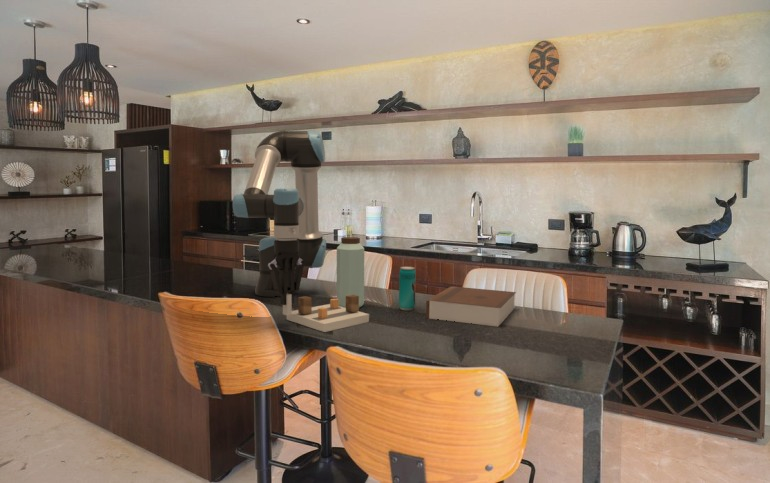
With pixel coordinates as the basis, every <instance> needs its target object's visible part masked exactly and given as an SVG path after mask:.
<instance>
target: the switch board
mask: <svg viewBox="0 0 770 483" xmlns="http://www.w3.org/2000/svg"><path fill="white" fill-rule="evenodd" d="M329 299H330V298H329ZM286 321H290V322H293V323H296V324H298V325H302V326H304V327H307V328H311V329H313V330H317V331H320V332H323V333H327V332H331V331H335V330H339V329H343V328H349V327H353V326H358V325H361V324H366V323H369V322H370V313H365V312H363V311H357V312H348V311H346V308H344V307H340V306H339V299H337V298H331V299H330V300H329V303H328V304H323V305H317V306H316V305H315V306H312V313H309V314H300V313H298V309H295V310H292V315H289V316H287V315H286Z"/></svg>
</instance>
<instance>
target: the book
mask: <svg viewBox="0 0 770 483" xmlns="http://www.w3.org/2000/svg"><path fill="white" fill-rule="evenodd" d="M516 293H517V291H508V290H507V291H506V290H495V289H487V288H485V289H484V288H474V287H473V288H471V287H464V286H451V285H450V286H449V287H448V288H446V289H444V290H442V291H441V292H439V293H437V294H435V295H434V296H432V297H430V298H428V299H426V303H425V305H426V306H425V311H426V312H425V319H427V318H428V320H437V319H439V321H446V320H447V322H454V321H455V322H457V323H462V324H463V323H464V324H471V323H472V324H474V325H480V326H481V325H482V326H490V327H500V325H501V324H502V323H503V322H504V321H505V319H506V318H507V317H508V316H510V314H511V313H512V312H513V310H514V309H515V296H516V295H515V294H516Z"/></svg>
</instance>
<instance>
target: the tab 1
mask: <svg viewBox="0 0 770 483" xmlns="http://www.w3.org/2000/svg"><path fill="white" fill-rule="evenodd" d="M297 301H298V304H297V305H298V306H297V307H298V308H297V310H298V313H300V314H309V313H312V307H313V304H312V297H310V296H307V295H305V296H300V297H298V298H297Z"/></svg>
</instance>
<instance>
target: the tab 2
mask: <svg viewBox="0 0 770 483" xmlns="http://www.w3.org/2000/svg"><path fill="white" fill-rule="evenodd" d="M359 310H360V307H359V296H357V295H348V296H346V311H348V312H357V311H359ZM359 312H360V311H359Z"/></svg>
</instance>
